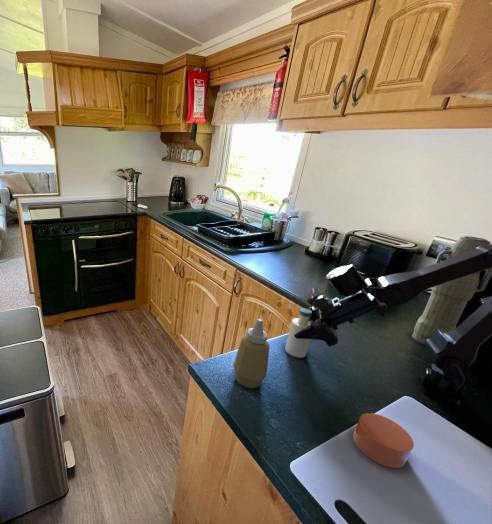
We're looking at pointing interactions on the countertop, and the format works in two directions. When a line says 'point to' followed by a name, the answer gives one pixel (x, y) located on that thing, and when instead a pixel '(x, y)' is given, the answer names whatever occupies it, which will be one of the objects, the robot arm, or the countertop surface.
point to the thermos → (450, 295)
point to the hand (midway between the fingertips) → (294, 331)
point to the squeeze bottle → (252, 357)
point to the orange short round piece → (383, 440)
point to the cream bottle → (293, 344)
